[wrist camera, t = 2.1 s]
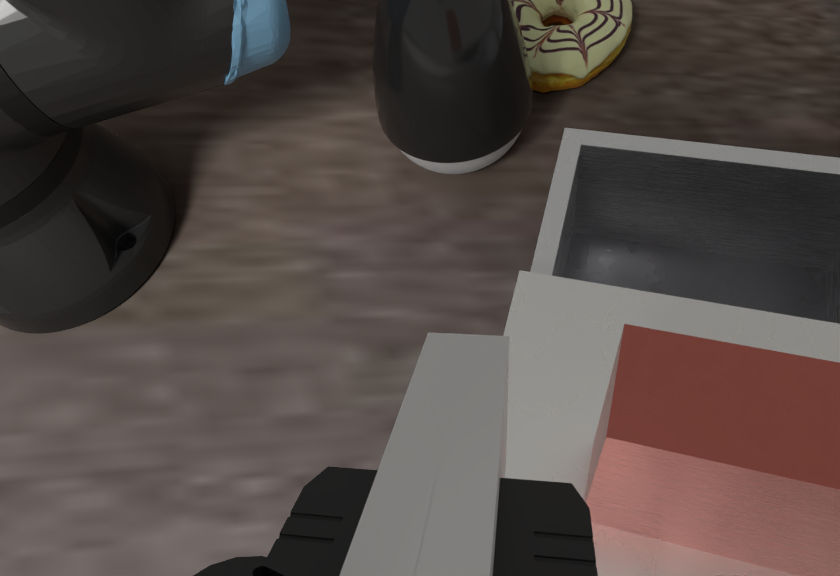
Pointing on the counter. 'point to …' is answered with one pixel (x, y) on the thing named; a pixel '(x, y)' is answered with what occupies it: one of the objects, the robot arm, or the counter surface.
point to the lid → (679, 427)
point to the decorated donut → (571, 38)
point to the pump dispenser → (451, 80)
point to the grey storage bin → (696, 222)
